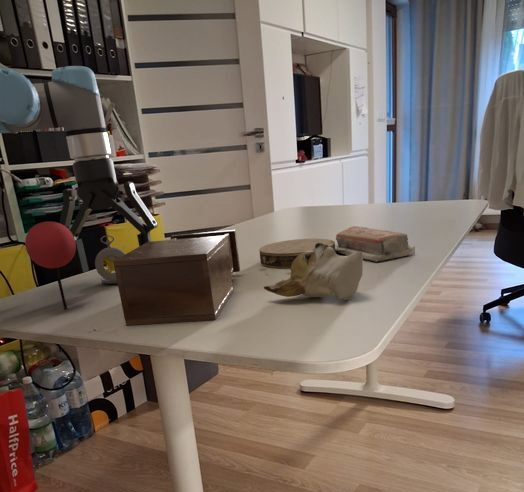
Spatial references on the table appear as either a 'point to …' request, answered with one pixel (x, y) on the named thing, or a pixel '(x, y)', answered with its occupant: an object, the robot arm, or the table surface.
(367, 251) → the old brick
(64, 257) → the lollipop
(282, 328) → the table surface
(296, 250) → the tambourine
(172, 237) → the drawer
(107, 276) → the pocket watch
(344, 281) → the ceramic sculpture
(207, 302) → the wooden box
